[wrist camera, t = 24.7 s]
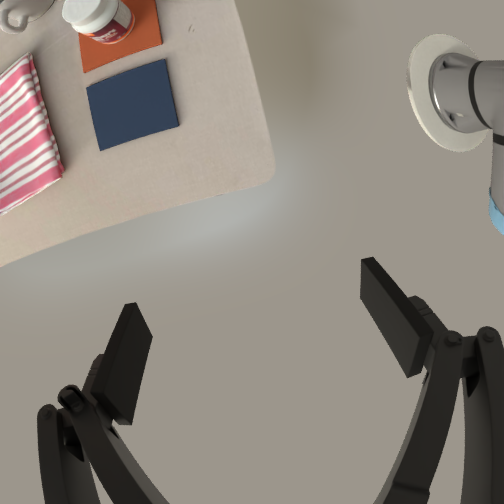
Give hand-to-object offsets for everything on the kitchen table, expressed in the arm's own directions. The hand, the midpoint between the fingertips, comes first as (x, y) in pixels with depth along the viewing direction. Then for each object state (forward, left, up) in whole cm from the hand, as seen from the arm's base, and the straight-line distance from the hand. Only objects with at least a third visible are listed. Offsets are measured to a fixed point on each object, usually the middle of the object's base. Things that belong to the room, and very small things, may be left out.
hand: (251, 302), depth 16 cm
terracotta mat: (+12, -28, -27) cm, 41 cm away
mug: (+26, -40, -27) cm, 55 cm away
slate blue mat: (+12, -15, -27) cm, 33 cm away
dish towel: (+34, -19, -27) cm, 47 cm away
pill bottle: (+12, -28, -26) cm, 40 cm away
